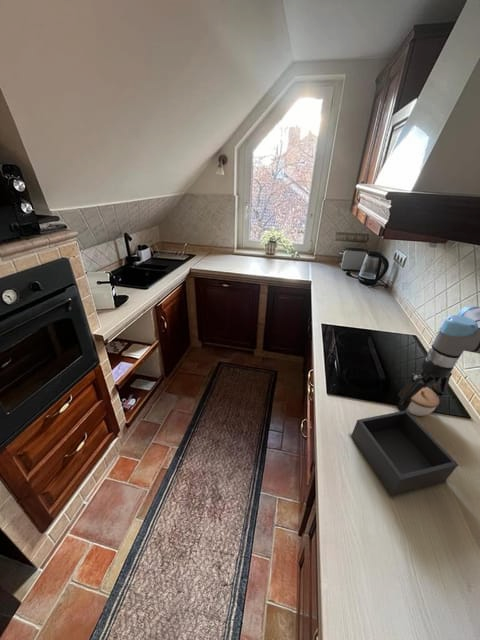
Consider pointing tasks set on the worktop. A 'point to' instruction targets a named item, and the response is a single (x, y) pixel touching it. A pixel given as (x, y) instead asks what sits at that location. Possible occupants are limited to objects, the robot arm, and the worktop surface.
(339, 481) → the worktop surface
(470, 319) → the robot arm
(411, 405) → the trinket box
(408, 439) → the tray
